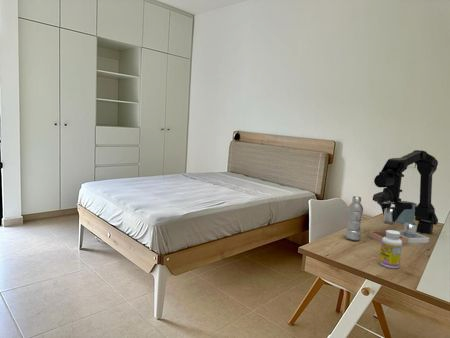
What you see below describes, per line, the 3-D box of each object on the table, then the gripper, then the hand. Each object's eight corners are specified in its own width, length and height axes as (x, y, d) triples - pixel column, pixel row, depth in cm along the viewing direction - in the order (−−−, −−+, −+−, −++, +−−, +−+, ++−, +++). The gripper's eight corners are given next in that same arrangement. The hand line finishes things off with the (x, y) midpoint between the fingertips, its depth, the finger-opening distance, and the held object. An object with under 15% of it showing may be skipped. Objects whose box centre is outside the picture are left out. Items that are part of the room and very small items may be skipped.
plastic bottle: (359, 238, 147) (363, 196, 144) (360, 243, 140) (365, 199, 138) (344, 236, 149) (349, 195, 146) (345, 240, 142) (349, 197, 140)
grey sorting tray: (409, 236, 155) (410, 230, 155) (430, 244, 143) (430, 238, 143) (367, 237, 150) (367, 231, 149) (385, 246, 138) (385, 239, 138)
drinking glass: (413, 226, 174) (416, 205, 173) (393, 222, 180) (395, 202, 178) (414, 222, 183) (417, 202, 181) (395, 219, 188) (397, 199, 187)
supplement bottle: (375, 261, 119) (379, 228, 118) (392, 261, 120) (395, 229, 119) (386, 269, 113) (390, 234, 111) (403, 269, 113) (407, 235, 112)
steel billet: (389, 221, 147) (391, 207, 146) (397, 224, 142) (399, 209, 142) (380, 221, 146) (382, 207, 145) (388, 224, 141) (390, 209, 140)
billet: (409, 236, 151) (411, 222, 150) (417, 240, 146) (419, 225, 145) (400, 236, 150) (402, 222, 149) (408, 240, 145) (410, 225, 144)
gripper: (364, 183, 150) (361, 214, 151) (393, 190, 132) (389, 226, 133) (384, 183, 152) (381, 214, 154) (415, 190, 134) (411, 225, 136)
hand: (389, 220), depth 144 cm, fingers closed on steel billet, 5 cm apart
